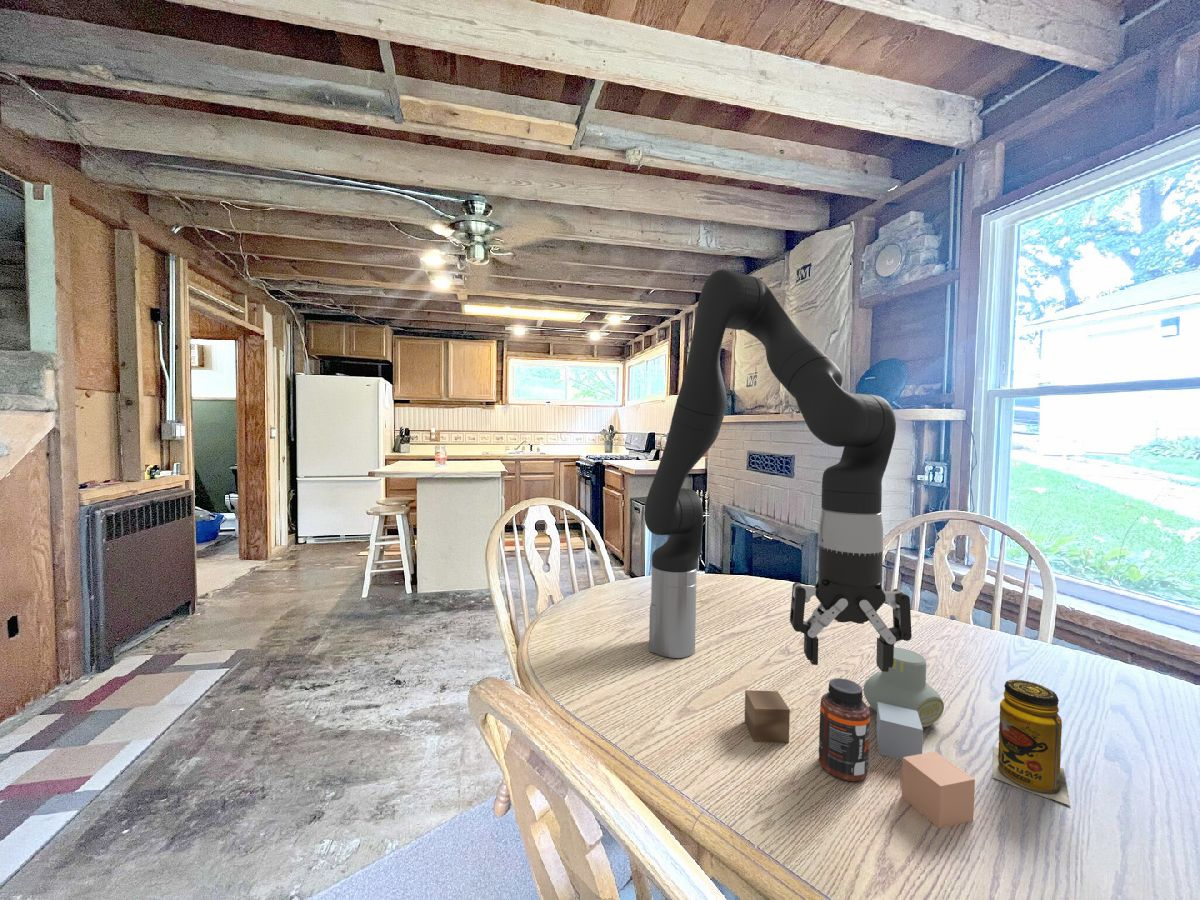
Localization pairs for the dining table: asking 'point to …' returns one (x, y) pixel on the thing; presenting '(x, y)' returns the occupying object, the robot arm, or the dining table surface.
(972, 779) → the terracotta block
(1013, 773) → the condiment
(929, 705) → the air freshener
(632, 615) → the dining table surface
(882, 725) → the slate block
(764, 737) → the walnut block
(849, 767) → the supplement bottle
